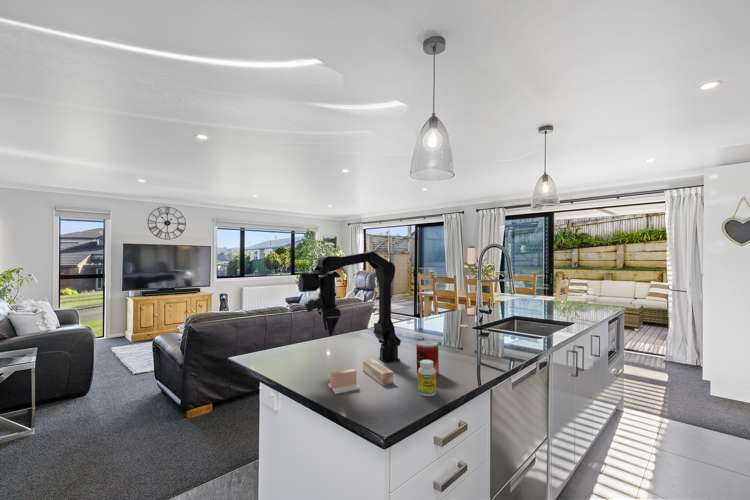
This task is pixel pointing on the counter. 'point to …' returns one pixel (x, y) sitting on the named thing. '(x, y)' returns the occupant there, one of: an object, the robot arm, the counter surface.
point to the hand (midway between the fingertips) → (328, 332)
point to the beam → (378, 372)
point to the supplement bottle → (426, 378)
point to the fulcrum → (343, 381)
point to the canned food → (427, 353)
